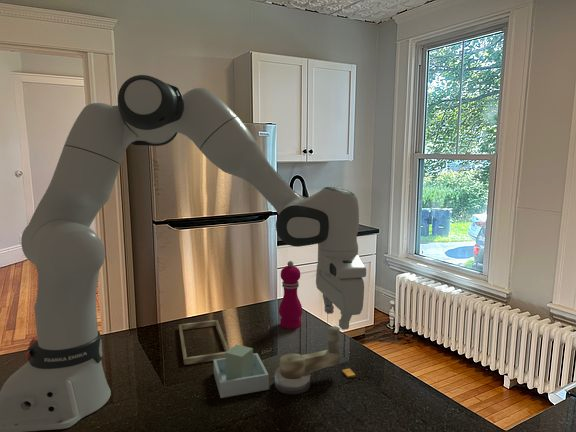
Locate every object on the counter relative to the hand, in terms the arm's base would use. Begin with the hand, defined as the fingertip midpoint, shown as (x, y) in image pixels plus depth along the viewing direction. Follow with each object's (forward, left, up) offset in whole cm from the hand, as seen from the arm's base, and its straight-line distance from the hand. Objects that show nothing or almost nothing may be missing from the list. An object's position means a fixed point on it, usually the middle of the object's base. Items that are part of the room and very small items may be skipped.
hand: (336, 320), depth 94 cm
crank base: (-5, +1, -14) cm, 15 cm away
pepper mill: (0, +33, -15) cm, 36 cm away
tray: (-21, +6, -14) cm, 26 cm away
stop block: (-21, +6, -14) cm, 26 cm away
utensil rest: (-27, +29, -14) cm, 42 cm away
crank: (-6, +1, -11) cm, 13 cm away
